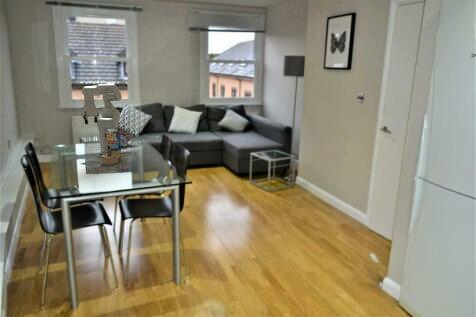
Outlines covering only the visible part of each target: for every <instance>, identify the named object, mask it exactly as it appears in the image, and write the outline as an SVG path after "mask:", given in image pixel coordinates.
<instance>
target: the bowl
mask: <svg viewBox="0 0 476 317" xmlns="http://www.w3.org/2000/svg"><path fill="white" fill-rule="evenodd" d="M100 159H101V162H102V163H101V164H102V165H114V164H117V163H118V162H119V158H118V157H117V158H113V159H102V158H100Z"/></svg>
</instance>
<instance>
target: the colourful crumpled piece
mask: <svg viewBox="0 0 476 317" xmlns="http://www.w3.org/2000/svg"><path fill="white" fill-rule="evenodd" d="M117 132H119V133H120V145H121V148H125V147H127V146H128V145H129V141H131V140H132V139H133V137H134V136H135V135H134V134H127V133H126V132H125V131H123V130H122V129H118V131H117Z"/></svg>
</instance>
